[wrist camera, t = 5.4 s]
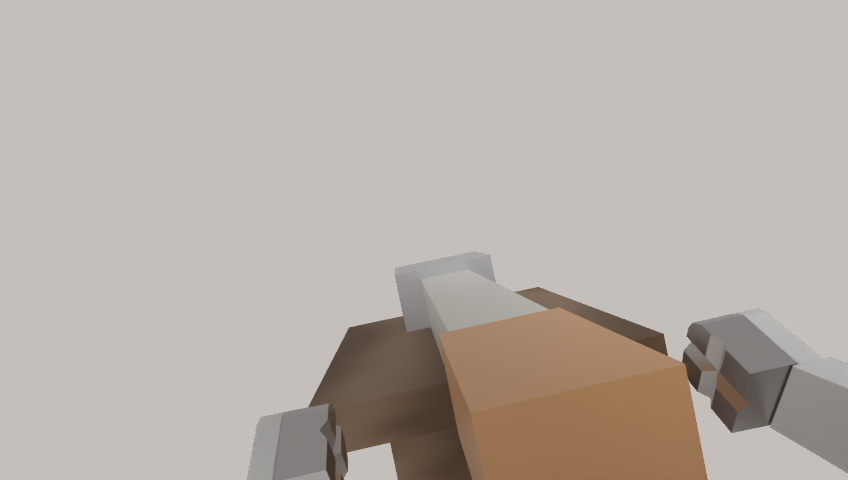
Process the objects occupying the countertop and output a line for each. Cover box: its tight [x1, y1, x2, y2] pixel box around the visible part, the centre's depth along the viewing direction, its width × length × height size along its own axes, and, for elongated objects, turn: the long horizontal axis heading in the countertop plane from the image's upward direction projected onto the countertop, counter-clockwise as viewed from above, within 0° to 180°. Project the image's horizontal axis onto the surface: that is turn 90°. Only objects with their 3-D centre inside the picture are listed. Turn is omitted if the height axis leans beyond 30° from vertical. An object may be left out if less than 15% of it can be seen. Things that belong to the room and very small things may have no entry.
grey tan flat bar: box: [395, 252, 708, 480], centre depth 18 cm, size 5×23×3 cm, turn 3°
